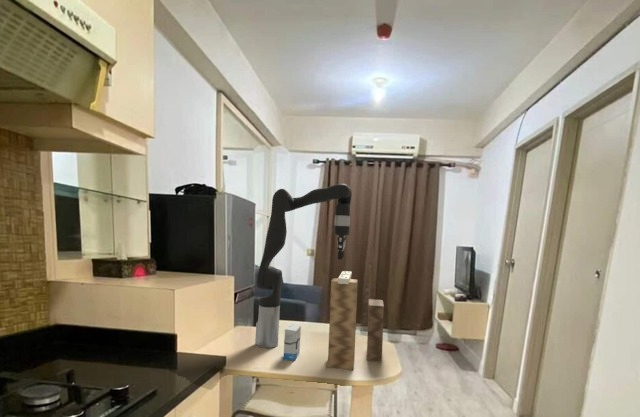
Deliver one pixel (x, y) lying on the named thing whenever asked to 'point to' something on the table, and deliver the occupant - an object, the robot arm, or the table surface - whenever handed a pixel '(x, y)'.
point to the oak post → (342, 324)
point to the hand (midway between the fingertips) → (340, 258)
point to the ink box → (292, 342)
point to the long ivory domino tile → (344, 277)
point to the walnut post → (375, 330)
